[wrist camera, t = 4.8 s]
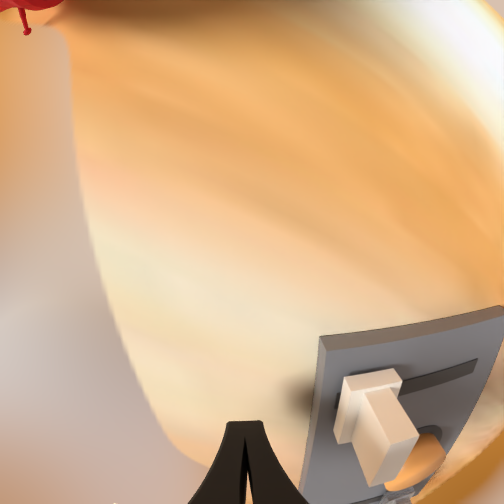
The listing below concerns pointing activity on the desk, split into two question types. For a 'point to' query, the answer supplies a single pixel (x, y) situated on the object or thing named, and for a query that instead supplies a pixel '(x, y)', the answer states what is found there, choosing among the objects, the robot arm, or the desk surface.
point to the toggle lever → (375, 424)
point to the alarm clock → (29, 1)
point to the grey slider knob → (398, 496)
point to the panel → (410, 395)
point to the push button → (419, 463)
